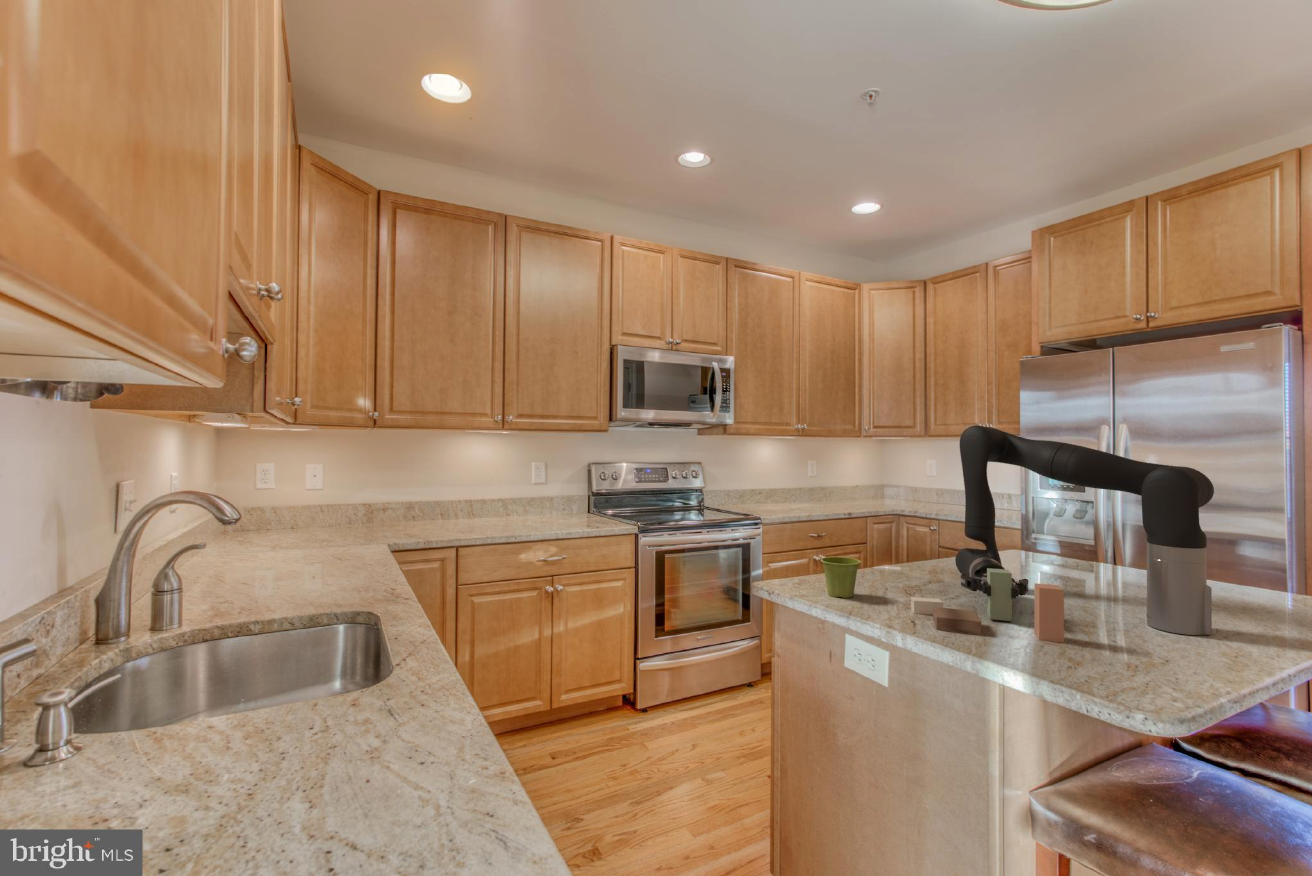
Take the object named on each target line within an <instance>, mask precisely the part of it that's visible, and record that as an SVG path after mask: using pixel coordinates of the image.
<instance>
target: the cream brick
mask: <svg viewBox="0 0 1312 876" xmlns="http://www.w3.org/2000/svg"><path fill="white" fill-rule="evenodd" d="M933 607H939V608H944V602H943V601H942V600H941V599H940V598H931V597H929V598H928V597H913V596H911V597H910V611H911V612H912V613H913V614H916V615H917V614H919V615H933Z"/></svg>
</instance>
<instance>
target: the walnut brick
mask: <svg viewBox="0 0 1312 876" xmlns="http://www.w3.org/2000/svg"><path fill="white" fill-rule="evenodd" d="M932 618H933V623H934V626H935V630H936V631H942V632H950V633H951V632H952V633H959V632H964V633H963V634H968V633H970V635H977V634H980V635H979V636H982V621H981V619H980V617H979V615H978V613H977V611H976V610H969V609H968V610H967V609H961V608H959V609H957V608H948V607H943V608H939V607H933V617H932Z"/></svg>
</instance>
